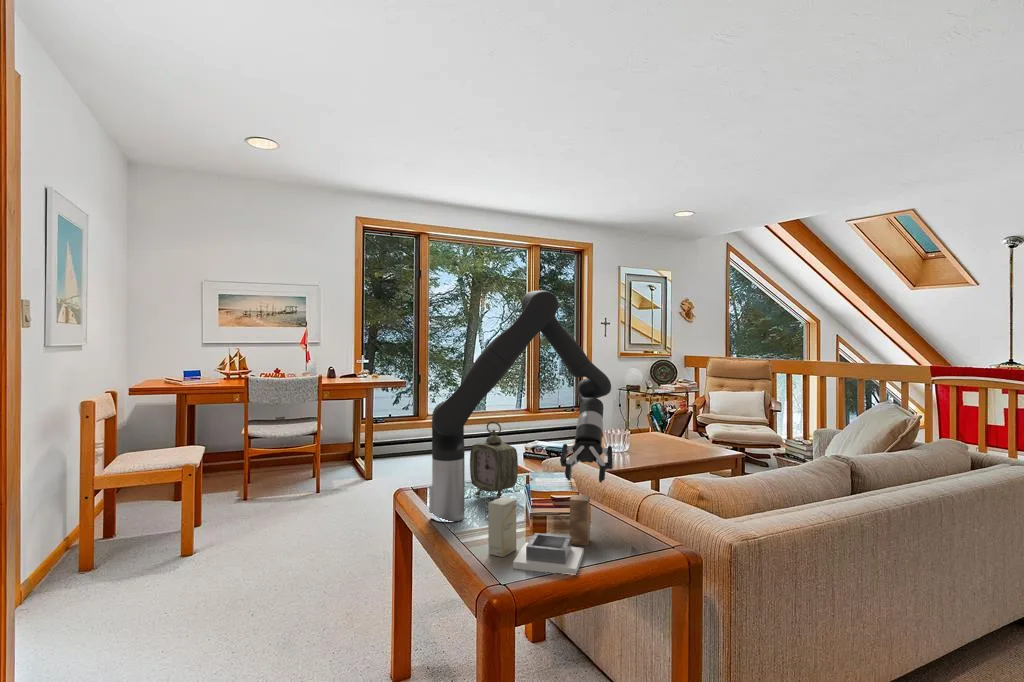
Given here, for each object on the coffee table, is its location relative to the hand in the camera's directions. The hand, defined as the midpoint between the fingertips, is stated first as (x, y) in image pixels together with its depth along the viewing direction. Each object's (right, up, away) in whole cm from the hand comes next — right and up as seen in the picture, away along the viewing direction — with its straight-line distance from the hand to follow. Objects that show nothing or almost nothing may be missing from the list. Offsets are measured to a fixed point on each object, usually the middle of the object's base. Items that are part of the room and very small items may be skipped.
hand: (584, 479), depth 139 cm
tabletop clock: (-25, -14, +29) cm, 41 cm away
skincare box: (-22, -13, -15) cm, 30 cm away
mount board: (-11, -13, -21) cm, 27 cm away
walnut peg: (-2, -13, -8) cm, 16 cm away
